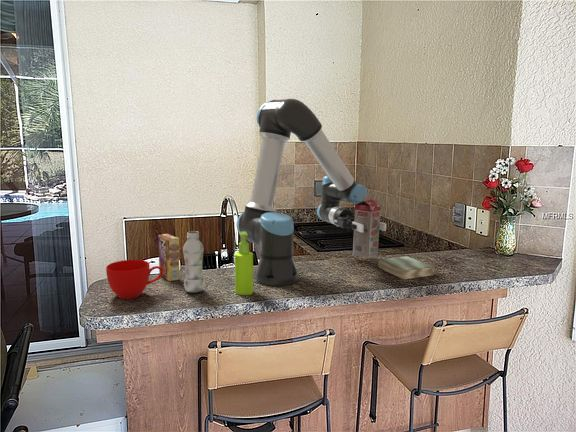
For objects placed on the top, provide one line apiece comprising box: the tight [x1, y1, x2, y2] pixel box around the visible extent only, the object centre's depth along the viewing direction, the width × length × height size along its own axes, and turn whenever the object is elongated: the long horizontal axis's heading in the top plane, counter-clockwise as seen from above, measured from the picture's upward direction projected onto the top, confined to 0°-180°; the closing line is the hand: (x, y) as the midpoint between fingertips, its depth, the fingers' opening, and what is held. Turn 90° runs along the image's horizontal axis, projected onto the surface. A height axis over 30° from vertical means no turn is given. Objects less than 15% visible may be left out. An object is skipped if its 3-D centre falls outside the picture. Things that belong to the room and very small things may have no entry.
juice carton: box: [352, 194, 382, 259], centre depth 167 cm, size 7×7×22 cm
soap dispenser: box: [234, 231, 254, 296], centre depth 150 cm, size 6×7×20 cm
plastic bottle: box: [182, 230, 206, 294], centre depth 149 cm, size 6×7×20 cm
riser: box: [377, 255, 436, 280], centre depth 176 cm, size 14×16×3 cm
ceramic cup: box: [105, 259, 162, 300], centre depth 147 cm, size 13×17×10 cm
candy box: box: [157, 233, 181, 282], centre depth 164 cm, size 9×4×15 cm, turn 39°
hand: (374, 228), depth 163 cm, fingers closed on juice carton, 9 cm apart
